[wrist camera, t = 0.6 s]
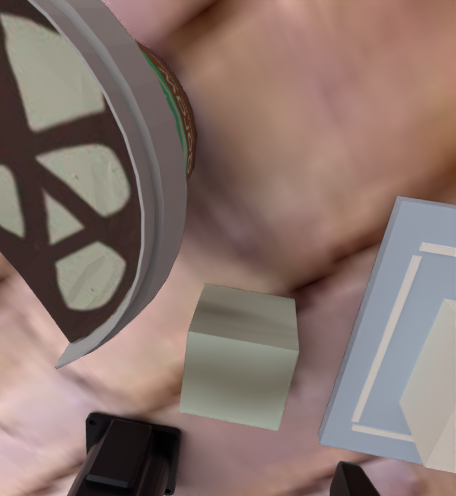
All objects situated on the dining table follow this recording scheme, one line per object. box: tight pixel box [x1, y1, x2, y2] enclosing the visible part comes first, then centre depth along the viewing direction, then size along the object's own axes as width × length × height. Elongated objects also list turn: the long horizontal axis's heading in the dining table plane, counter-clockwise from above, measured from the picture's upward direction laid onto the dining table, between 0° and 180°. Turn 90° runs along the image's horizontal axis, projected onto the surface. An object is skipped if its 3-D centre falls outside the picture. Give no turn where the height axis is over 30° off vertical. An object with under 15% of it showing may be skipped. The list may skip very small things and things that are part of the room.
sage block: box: [179, 283, 299, 431], centre depth 20 cm, size 5×5×4 cm
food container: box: [0, 0, 197, 369], centre depth 13 cm, size 12×6×10 cm, turn 26°
